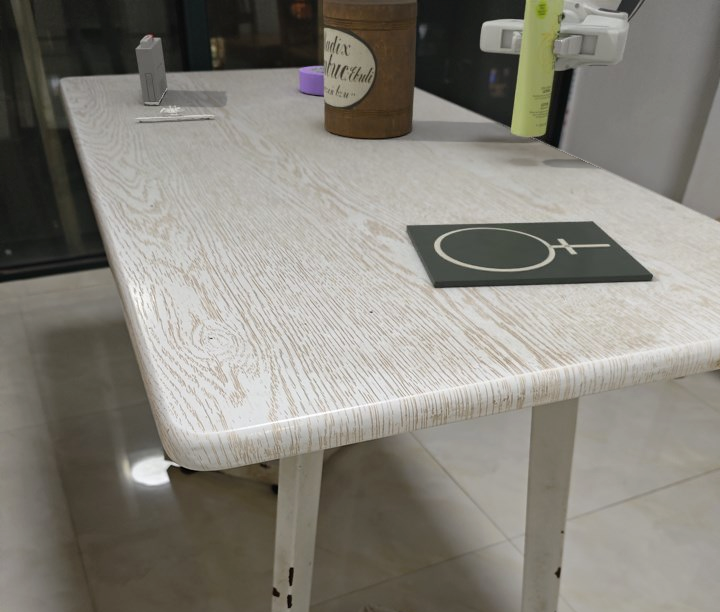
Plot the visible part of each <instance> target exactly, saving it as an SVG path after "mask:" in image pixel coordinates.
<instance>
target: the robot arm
mask: <svg viewBox="0 0 720 612" xmlns="http://www.w3.org/2000/svg"><path fill="white" fill-rule="evenodd" d="M645 1H646V0H564V4H563V12H562V19H561V26H560V34H559V38H557V39H555V42H554V47H555V48H554V49H553V54H554V55H556V62H555V70H554V72H556V71H557V72H561V71H566V70H570V69H577V68H582V67H588V66H589V67H593V66H595V67H596V66H597V67H599V66H601V67H607V66H608V67H609V66H611V67H612V66H616V65H618V63H620V62H622V61H623V57H624V53H625V49H626V44H627V40H628V34H629V29H630V23H629V22H630V21H631V20H632V19H633V17H634V16H635V15H636V14H637V12H638V11H639V9H640V8H641V7H642V5H643V4H644V2H645ZM523 25H524V19H514V18H503V19H502V18H501V19H495V20H487V21H484V22H483V23H482V26H481V28H480V29H481V30H480V38H479V49H480V51H482V52H485V53H494V54H506V55H507V54H508V55H519V56H520V51H521V42H522V33H523Z"/></svg>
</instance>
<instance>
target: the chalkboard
mask: <svg viewBox="0 0 720 612" xmlns="http://www.w3.org/2000/svg"><path fill="white" fill-rule="evenodd" d="M405 230H406V233H407V235H408V237H409V238H410V241H411V243H412V245H413V247H414V250H415V252H416V253H417V255H418V257H419V259H420V261H421V263H422V265H423V267H424V270H425V271H426V273H427V275H428V277H429V279H430V282H431V283H432V286H433V287H434V288H451V287H452V288H453V287H455V288H456V287H485V286H486V287H488V286H515V285H516V286H517V285H547V284H549V285H550V284H551V285H552V284H578V283H582V284H583V283H609V282H610V283H612V282H615V283H616V282H643V281H644V282H646V281H652V280H653V278H654V274H653V273H652V272H650V271H649V269H647V268H646V267H645V266H644V265H643V264H642V263H641V262H639V260H637V259H636V258H635V257H634V256H632V254H630V252H628V251H627V250H626V249H625V248H624V247H622V246H621V245H620V244H619V243H618V242H617V241H616V240H615V239H613V237H611V236H610V235H609V234H608V233H607V232H605V230H603V229H602V228H601V227H600V226H599V225H598V224H597V223H595V222H594V220H588V221H587V220H586V221H583V220H582V221H545V222H543V221H542V222H539V221H538V222H497V223H495V222H494V223H492V222H491V223H489V222H488V223H454V224H453V223H451V224H450V223H449V224H448V223H447V224H444V223H443V224H407V225H406V227H405Z"/></svg>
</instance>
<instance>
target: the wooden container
mask: <svg viewBox="0 0 720 612" xmlns="http://www.w3.org/2000/svg"><path fill="white" fill-rule="evenodd" d="M322 15H323V16H322V18H323V24H324V25H323V66H324V95H323V102H324V107H323V108H324V109H323V113H324V114H323V115H324V128H325V130H326V131H327V132H328V133H329V132H330V133H331V134H334V135H337V136H340V137H347V138H357V139H358V138H360V139H388V138H389V139H390V138H395V137H400V136H404V135H406V134H409V133H410V132H411V131H412V130H413V119H414V118H413V117H414V114H413V113H414V99H415V98H414V97H415V81H416V80H415V79H416V52H417V51H416V49H417V47H416V46H417V23H418V21H417V20H418V18H417V17H418V0H322Z"/></svg>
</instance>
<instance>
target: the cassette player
mask: <svg viewBox="0 0 720 612" xmlns="http://www.w3.org/2000/svg"><path fill="white" fill-rule="evenodd" d="M135 54H136V61H137V62H136V63H137V67H138V74H139V80H140V88H141V93H142V94H141V95H142V101H143V103H144V102H159V100H160V99H161V97H162V95H163V93H164V92H165V90H166V88H168V81H167V74H166V67H165V65H166V64H165V59H164V51H163V44H162V38H161V37H154V35H153V34H146V35H145V36H144V37H143V38H142V39H141V40H140V41H139V45H138V46H137V47H135Z"/></svg>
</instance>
